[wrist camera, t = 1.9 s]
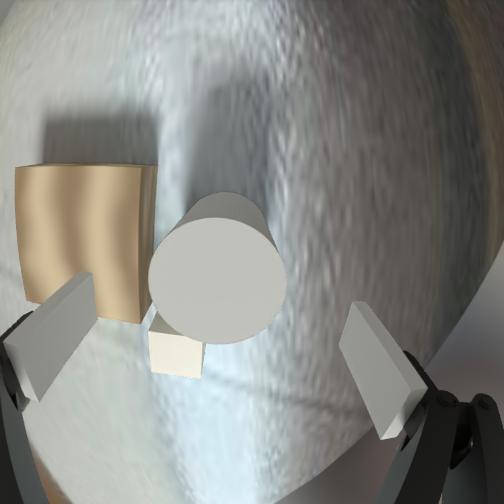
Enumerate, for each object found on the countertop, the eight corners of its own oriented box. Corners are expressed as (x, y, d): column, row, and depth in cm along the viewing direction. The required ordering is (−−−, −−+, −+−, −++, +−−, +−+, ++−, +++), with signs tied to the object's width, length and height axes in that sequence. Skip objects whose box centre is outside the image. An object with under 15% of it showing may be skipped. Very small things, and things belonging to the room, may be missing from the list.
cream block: (163, 338, 32) (151, 371, 26) (162, 300, 30) (148, 330, 25) (205, 343, 32) (201, 378, 27) (208, 306, 31) (202, 338, 25)
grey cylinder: (191, 278, 30) (167, 349, 18) (176, 199, 27) (134, 230, 16) (271, 267, 30) (291, 335, 18) (261, 186, 27) (279, 207, 16)
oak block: (48, 282, 29) (26, 300, 24) (42, 163, 25) (15, 167, 20) (153, 299, 30) (140, 324, 25) (157, 165, 26) (141, 167, 21)
